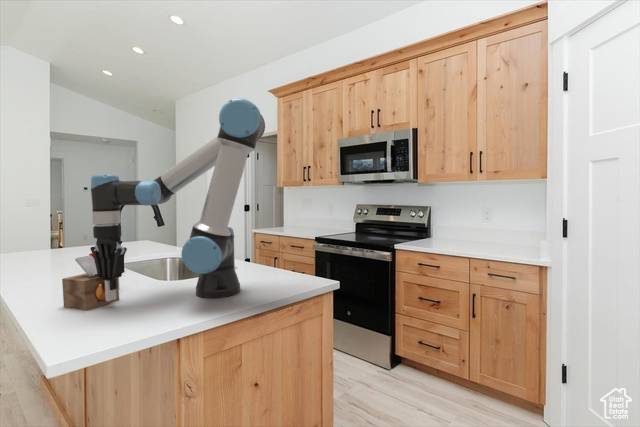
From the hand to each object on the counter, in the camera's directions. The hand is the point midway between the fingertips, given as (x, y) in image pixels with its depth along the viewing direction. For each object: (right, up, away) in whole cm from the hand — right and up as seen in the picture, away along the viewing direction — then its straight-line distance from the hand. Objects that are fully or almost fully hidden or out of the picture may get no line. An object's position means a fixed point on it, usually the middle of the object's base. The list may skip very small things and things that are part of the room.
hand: (111, 299), depth 113 cm
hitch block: (-8, -2, +3) cm, 9 cm away
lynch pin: (-7, 0, +3) cm, 8 cm away
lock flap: (-8, +10, +3) cm, 13 cm away
